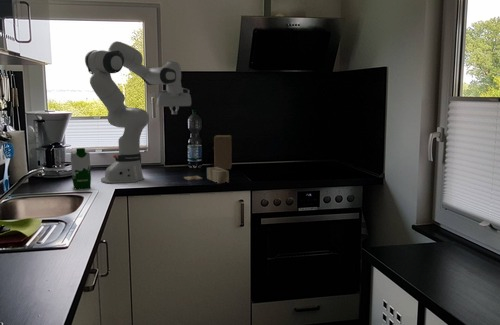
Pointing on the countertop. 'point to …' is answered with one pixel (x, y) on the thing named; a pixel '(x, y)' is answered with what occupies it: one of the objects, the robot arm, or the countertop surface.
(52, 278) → the countertop surface
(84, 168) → the milk carton
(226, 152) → the wooden block
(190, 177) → the cork trivet
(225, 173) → the tall oak block
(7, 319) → the countertop surface
